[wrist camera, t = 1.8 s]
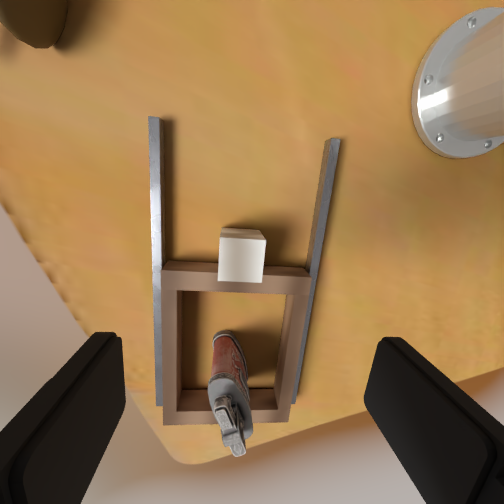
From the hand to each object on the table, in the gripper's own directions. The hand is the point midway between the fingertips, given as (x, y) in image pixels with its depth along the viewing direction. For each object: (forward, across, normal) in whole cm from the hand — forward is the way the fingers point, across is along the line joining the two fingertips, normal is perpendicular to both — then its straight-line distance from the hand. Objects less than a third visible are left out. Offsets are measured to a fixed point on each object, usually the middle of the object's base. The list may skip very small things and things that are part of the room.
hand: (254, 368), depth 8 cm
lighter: (+18, 0, +14) cm, 23 cm away
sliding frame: (+18, 0, +10) cm, 20 cm away
